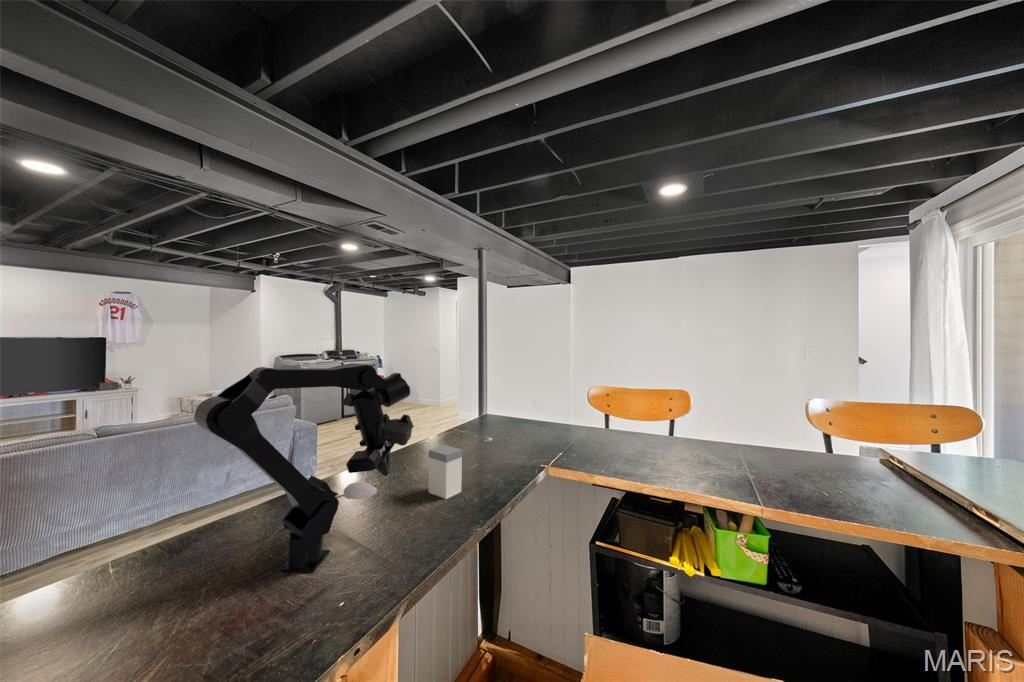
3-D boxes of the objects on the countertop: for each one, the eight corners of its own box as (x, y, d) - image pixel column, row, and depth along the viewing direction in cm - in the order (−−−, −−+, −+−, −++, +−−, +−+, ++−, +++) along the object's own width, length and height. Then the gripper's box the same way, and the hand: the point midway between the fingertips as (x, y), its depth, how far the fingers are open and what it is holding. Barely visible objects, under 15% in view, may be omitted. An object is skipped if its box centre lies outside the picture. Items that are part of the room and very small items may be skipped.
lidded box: (445, 499, 99) (446, 455, 98) (427, 492, 103) (428, 450, 103) (461, 491, 104) (462, 449, 104) (444, 485, 108) (444, 445, 108)
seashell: (353, 478, 108) (384, 473, 107) (356, 496, 108) (387, 492, 106) (331, 491, 98) (364, 486, 97) (334, 512, 98) (368, 507, 96)
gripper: (387, 432, 74) (405, 497, 78) (416, 395, 92) (429, 449, 96) (336, 438, 75) (356, 502, 79) (374, 400, 93) (389, 454, 97)
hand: (386, 474), depth 87 cm, fingers closed
